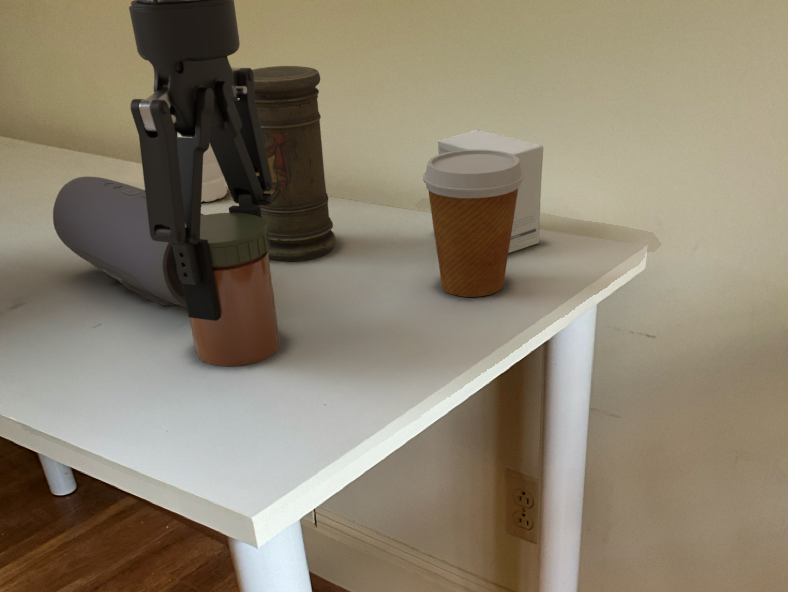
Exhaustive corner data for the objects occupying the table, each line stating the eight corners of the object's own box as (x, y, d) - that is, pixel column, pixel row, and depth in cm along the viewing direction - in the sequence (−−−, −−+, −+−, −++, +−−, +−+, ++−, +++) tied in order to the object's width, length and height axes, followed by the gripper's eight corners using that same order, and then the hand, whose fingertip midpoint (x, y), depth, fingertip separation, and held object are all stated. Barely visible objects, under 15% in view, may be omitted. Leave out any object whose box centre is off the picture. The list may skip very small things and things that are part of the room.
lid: (239, 271, 71) (235, 247, 69) (155, 261, 73) (150, 238, 72) (286, 238, 76) (283, 216, 75) (207, 230, 79) (203, 209, 78)
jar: (181, 362, 78) (158, 248, 72) (217, 327, 84) (198, 219, 78) (261, 369, 76) (244, 253, 70) (292, 333, 82) (279, 223, 76)
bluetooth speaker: (252, 305, 88) (237, 202, 82) (171, 334, 83) (148, 227, 77) (138, 253, 101) (118, 161, 95) (62, 276, 97) (36, 180, 91)
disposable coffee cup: (495, 310, 85) (499, 179, 77) (408, 294, 88) (404, 169, 81) (534, 276, 91) (540, 153, 84) (451, 263, 95) (450, 144, 88)
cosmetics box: (437, 234, 103) (435, 138, 96) (479, 222, 106) (480, 127, 99) (497, 257, 96) (500, 155, 89) (541, 243, 99) (546, 143, 92)
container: (310, 229, 106) (293, 61, 95) (351, 248, 100) (338, 71, 89) (243, 247, 102) (217, 73, 91) (282, 267, 96) (259, 84, 85)
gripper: (139, 13, 55) (204, 353, 69) (292, -22, 70) (321, 261, 84) (42, 13, 57) (124, 341, 71) (211, -21, 72) (251, 254, 86)
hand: (230, 298), depth 77 cm, fingers closed on lid, 8 cm apart
